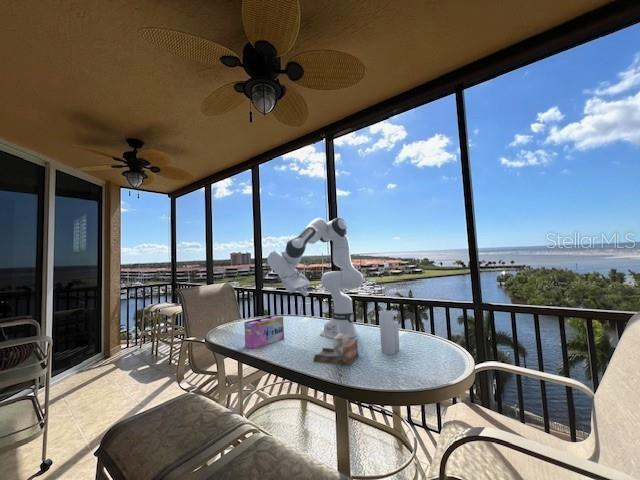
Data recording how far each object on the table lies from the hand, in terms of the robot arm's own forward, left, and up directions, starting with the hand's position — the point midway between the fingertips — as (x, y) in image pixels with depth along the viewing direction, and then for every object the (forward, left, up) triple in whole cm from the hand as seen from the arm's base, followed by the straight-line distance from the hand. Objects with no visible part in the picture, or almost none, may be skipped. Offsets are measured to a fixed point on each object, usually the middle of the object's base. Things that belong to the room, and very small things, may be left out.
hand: (307, 295), depth 150 cm
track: (+15, +2, -29) cm, 33 cm away
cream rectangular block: (+18, +2, -28) cm, 33 cm away
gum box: (-35, +1, -30) cm, 46 cm away
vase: (+32, +24, -30) cm, 50 cm away
